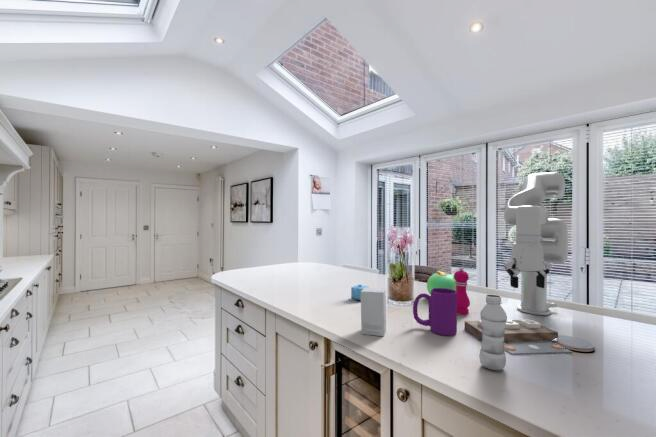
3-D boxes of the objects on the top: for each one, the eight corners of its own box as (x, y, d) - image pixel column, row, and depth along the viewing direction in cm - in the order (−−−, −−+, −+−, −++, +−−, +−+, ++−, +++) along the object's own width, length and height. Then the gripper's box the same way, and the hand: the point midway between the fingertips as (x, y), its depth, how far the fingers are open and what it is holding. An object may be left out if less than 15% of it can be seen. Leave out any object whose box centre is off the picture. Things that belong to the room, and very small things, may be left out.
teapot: (358, 303, 149) (359, 288, 149) (347, 301, 152) (348, 286, 152) (369, 298, 159) (369, 283, 159) (359, 296, 163) (359, 282, 162)
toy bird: (424, 295, 167) (424, 267, 167) (456, 296, 164) (457, 268, 164) (430, 304, 149) (430, 273, 149) (467, 306, 146) (467, 275, 146)
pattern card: (554, 343, 103) (554, 341, 103) (572, 352, 96) (572, 350, 96) (497, 345, 102) (497, 343, 102) (511, 354, 95) (511, 352, 95)
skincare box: (386, 331, 114) (387, 288, 113) (383, 337, 107) (384, 292, 107) (364, 328, 116) (364, 286, 116) (360, 334, 110) (360, 290, 110)
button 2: (531, 327, 114) (531, 319, 114) (540, 332, 110) (540, 323, 110) (519, 327, 114) (520, 319, 114) (528, 332, 109) (528, 323, 109)
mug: (455, 338, 107) (456, 295, 107) (410, 330, 114) (410, 289, 114) (457, 329, 115) (458, 289, 115) (415, 323, 122) (415, 285, 122)
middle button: (510, 328, 113) (510, 319, 113) (519, 332, 109) (519, 323, 109) (499, 328, 113) (499, 319, 113) (507, 332, 108) (507, 323, 108)
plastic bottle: (474, 362, 89) (475, 293, 89) (496, 362, 90) (497, 293, 90) (487, 374, 83) (488, 299, 83) (511, 373, 83) (512, 298, 83)
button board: (529, 327, 118) (529, 319, 118) (557, 341, 106) (557, 332, 106) (464, 328, 116) (464, 320, 116) (484, 343, 103) (485, 334, 103)
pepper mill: (466, 310, 140) (467, 266, 140) (472, 315, 132) (472, 268, 132) (449, 309, 140) (450, 265, 140) (454, 314, 133) (455, 268, 133)
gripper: (543, 239, 116) (542, 285, 116) (498, 238, 115) (497, 285, 115) (559, 240, 109) (558, 289, 109) (511, 240, 108) (510, 289, 108)
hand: (527, 287), depth 112 cm, fingers open, 9 cm apart
